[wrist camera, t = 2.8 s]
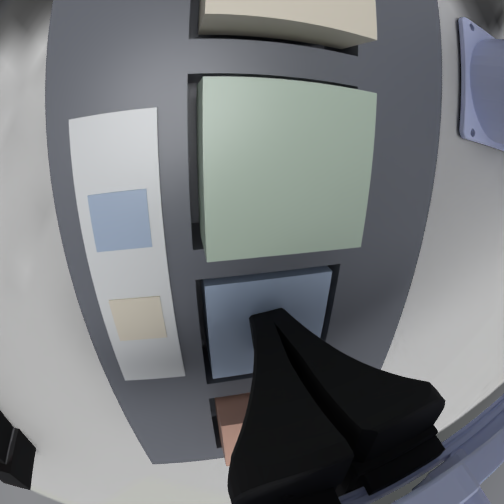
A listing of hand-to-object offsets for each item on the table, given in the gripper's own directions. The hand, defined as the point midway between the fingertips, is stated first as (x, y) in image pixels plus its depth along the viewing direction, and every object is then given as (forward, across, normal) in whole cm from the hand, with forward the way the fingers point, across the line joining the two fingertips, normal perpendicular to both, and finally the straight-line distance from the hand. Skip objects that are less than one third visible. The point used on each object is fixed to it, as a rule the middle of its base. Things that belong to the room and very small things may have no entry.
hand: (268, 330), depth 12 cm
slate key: (+2, 0, 0) cm, 2 cm away
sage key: (+1, -1, -6) cm, 7 cm away
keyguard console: (+3, 0, -3) cm, 4 cm away
